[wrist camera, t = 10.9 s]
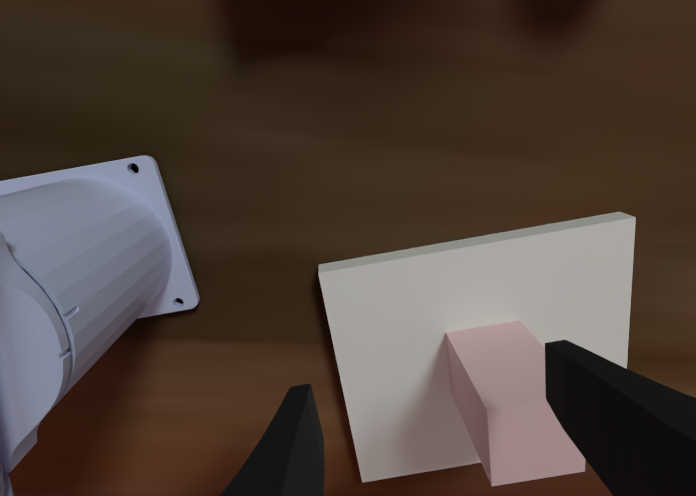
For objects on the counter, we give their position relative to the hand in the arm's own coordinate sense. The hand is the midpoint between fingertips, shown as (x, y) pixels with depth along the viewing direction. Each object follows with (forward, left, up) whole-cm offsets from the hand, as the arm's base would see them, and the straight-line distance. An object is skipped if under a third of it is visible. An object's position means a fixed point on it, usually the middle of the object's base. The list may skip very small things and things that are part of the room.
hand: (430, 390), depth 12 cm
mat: (+4, -6, -10) cm, 12 cm away
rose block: (+4, -6, -9) cm, 11 cm away
